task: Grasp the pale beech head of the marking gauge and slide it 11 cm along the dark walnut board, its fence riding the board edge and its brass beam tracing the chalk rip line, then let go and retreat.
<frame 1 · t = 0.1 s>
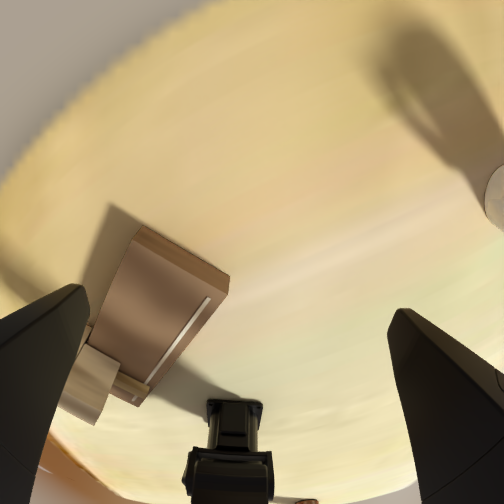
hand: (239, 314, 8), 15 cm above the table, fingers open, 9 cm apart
marking gauge: (103, 383, 25), point 5 cm above the table, slide at 0.0 cm
sauce bottle: (306, 501, 56), on the table
mug: (493, 194, 21), on the table
walnut board: (140, 328, 28), on the table
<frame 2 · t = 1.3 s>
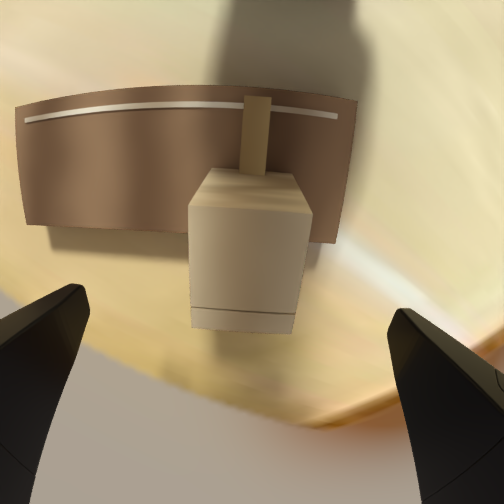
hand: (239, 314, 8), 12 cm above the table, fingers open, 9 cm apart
marking gauge: (250, 194, 14), point 5 cm above the table, slide at 0.0 cm
walnut board: (168, 153, 17), on the table
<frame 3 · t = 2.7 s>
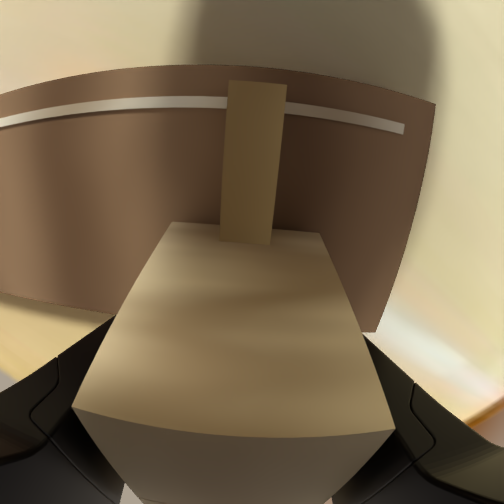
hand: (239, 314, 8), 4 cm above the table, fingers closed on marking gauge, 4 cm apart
marking gauge: (241, 287, 7), point 5 cm above the table, slide at 0.0 cm, touching gripper
walnut board: (114, 184, 10), on the table
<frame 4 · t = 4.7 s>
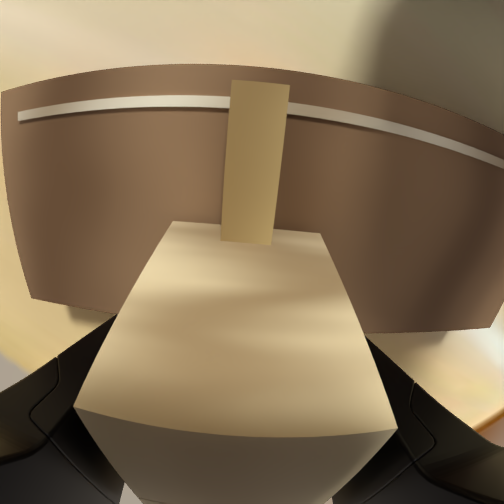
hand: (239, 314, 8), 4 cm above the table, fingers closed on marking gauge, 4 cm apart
marking gauge: (242, 287, 7), point 5 cm above the table, slide at 6.6 cm, touching gripper
walnut board: (292, 194, 11), on the table
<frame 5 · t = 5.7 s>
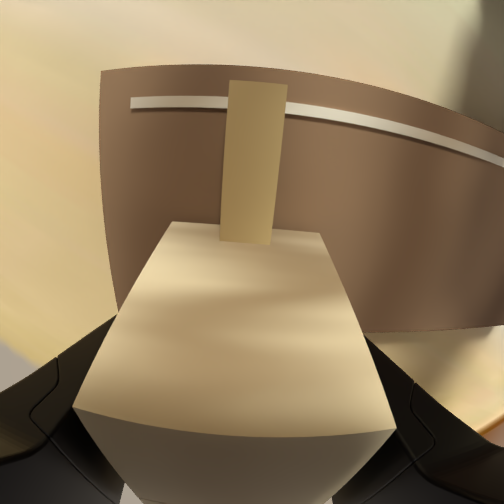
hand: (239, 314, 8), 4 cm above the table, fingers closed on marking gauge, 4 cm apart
marking gauge: (241, 287, 7), point 5 cm above the table, slide at 10.8 cm, touching gripper
walnut board: (397, 207, 11), on the table
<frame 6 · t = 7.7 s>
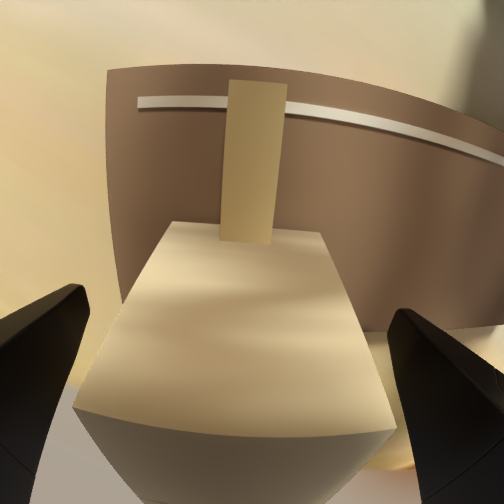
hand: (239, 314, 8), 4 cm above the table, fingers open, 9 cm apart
marking gauge: (241, 287, 7), point 5 cm above the table, slide at 11.0 cm
walnut board: (402, 207, 11), on the table
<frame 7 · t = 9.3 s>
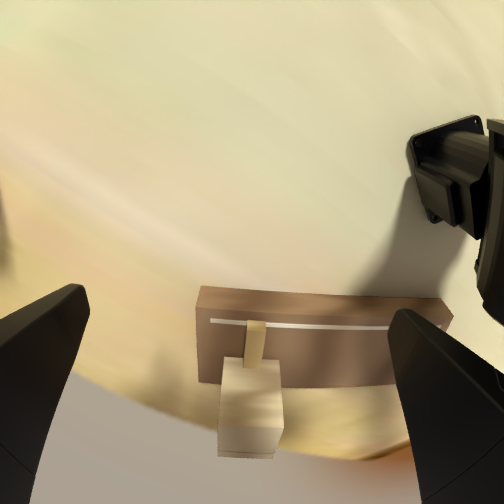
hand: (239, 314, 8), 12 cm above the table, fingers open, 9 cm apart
marking gauge: (250, 383, 20), point 5 cm above the table, slide at 11.0 cm
walnut board: (325, 334, 24), on the table
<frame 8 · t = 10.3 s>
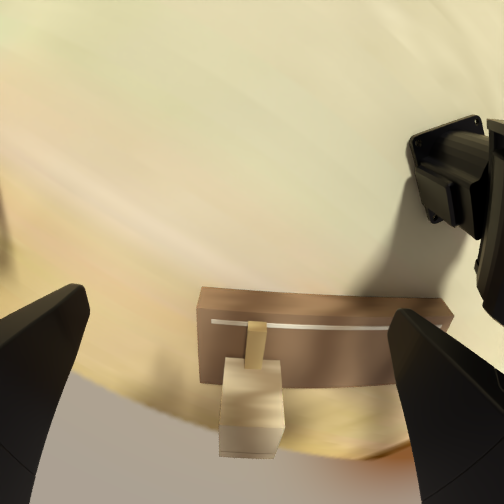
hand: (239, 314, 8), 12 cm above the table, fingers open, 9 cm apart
marking gauge: (251, 384, 20), point 5 cm above the table, slide at 11.0 cm
walnut board: (325, 335, 24), on the table
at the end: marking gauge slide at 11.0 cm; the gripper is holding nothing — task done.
